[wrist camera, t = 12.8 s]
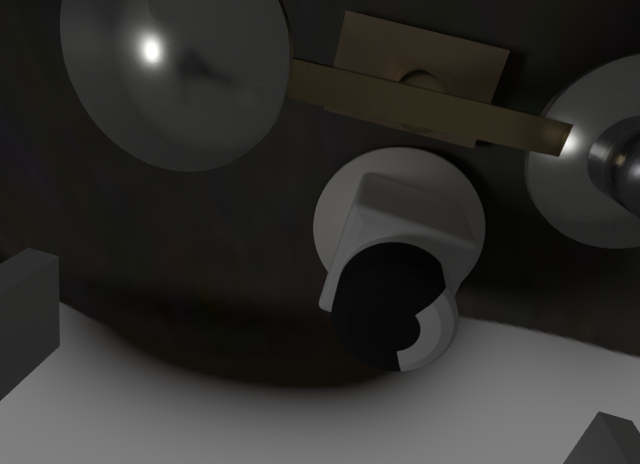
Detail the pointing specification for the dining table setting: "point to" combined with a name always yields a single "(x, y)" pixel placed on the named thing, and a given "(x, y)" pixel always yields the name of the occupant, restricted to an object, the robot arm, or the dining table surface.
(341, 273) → the grey piece
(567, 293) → the dining table surface
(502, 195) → the dining table surface
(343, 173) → the dish
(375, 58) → the balance
